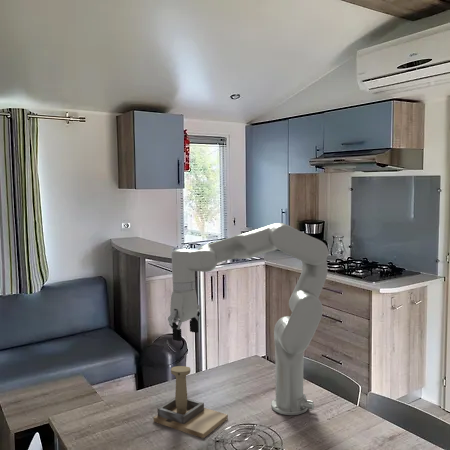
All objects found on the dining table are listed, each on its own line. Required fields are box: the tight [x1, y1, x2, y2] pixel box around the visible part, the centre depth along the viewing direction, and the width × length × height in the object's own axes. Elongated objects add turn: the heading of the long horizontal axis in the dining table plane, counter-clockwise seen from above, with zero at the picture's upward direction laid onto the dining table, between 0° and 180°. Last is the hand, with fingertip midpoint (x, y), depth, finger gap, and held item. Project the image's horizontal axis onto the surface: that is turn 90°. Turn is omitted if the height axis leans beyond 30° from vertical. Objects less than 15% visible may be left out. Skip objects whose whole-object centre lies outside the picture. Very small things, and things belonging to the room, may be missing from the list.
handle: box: [170, 365, 191, 414], centre depth 156 cm, size 5×6×15 cm
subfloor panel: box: [152, 397, 229, 439], centre depth 154 cm, size 20×14×4 cm
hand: (185, 336), depth 158 cm, fingers open, 9 cm apart
